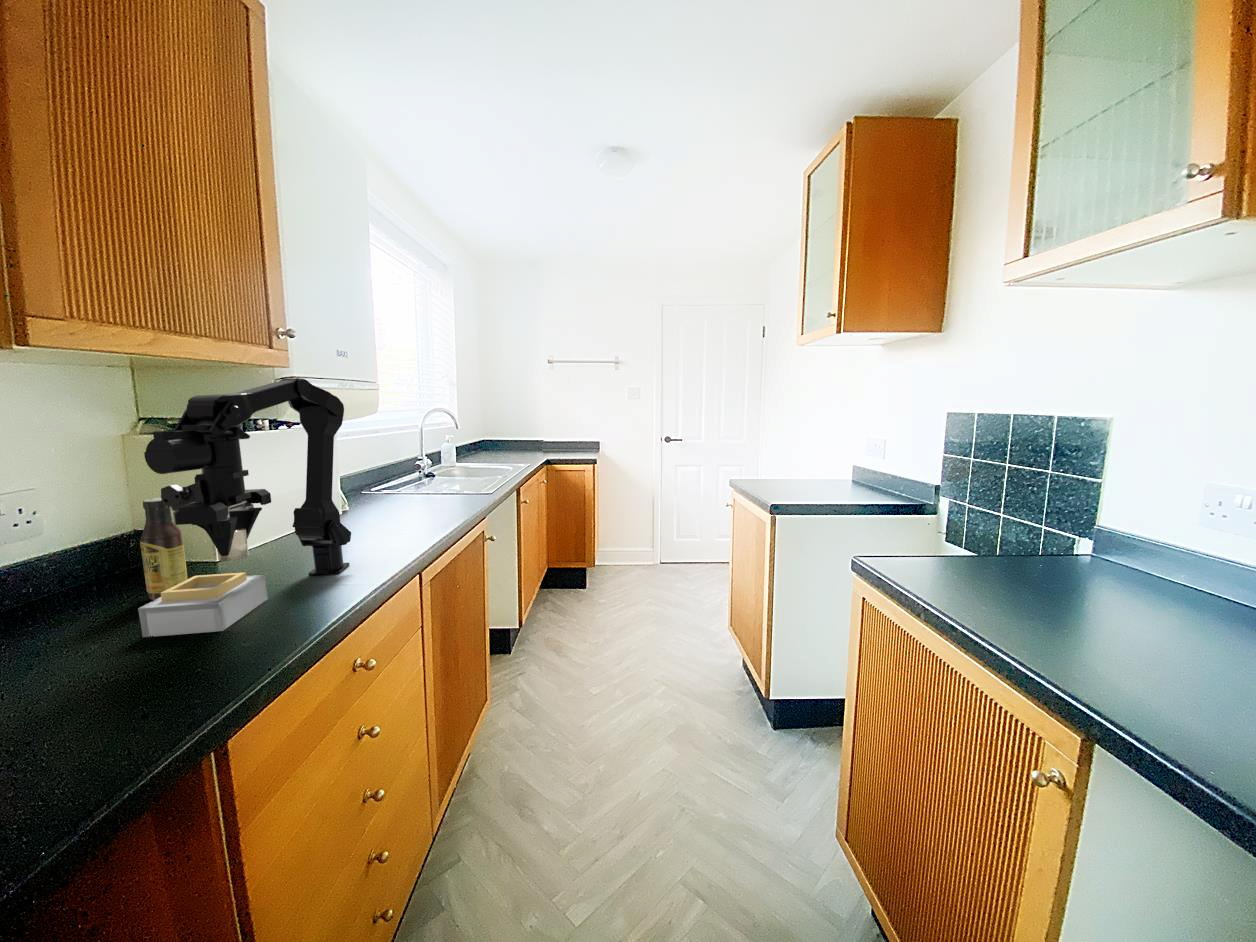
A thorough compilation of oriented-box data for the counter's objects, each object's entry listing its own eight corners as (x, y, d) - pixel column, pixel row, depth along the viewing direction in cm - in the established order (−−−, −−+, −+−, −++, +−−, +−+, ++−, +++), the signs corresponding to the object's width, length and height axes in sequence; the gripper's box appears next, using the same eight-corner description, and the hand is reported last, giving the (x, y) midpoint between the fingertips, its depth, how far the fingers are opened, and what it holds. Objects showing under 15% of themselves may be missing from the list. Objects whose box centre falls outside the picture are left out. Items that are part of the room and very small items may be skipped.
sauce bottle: (142, 598, 102) (126, 500, 99) (181, 588, 107) (166, 495, 104) (157, 604, 99) (141, 503, 96) (196, 593, 104) (182, 497, 101)
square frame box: (199, 604, 98) (194, 571, 98) (267, 599, 100) (263, 567, 99) (142, 637, 85) (136, 599, 84) (222, 630, 87) (217, 594, 86)
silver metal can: (227, 555, 95) (224, 528, 94) (253, 553, 96) (250, 527, 95) (212, 562, 90) (209, 534, 90) (240, 560, 91) (237, 532, 91)
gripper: (204, 462, 99) (214, 541, 101) (128, 475, 80) (143, 571, 82) (268, 460, 100) (276, 538, 102) (208, 472, 82) (220, 566, 84)
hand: (232, 552), depth 93 cm, fingers closed on silver metal can, 4 cm apart
